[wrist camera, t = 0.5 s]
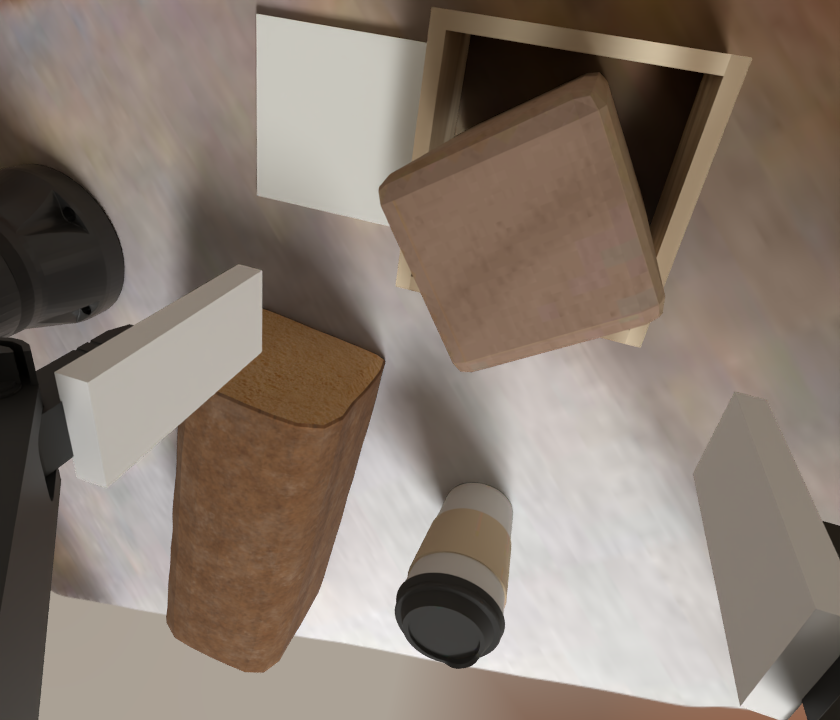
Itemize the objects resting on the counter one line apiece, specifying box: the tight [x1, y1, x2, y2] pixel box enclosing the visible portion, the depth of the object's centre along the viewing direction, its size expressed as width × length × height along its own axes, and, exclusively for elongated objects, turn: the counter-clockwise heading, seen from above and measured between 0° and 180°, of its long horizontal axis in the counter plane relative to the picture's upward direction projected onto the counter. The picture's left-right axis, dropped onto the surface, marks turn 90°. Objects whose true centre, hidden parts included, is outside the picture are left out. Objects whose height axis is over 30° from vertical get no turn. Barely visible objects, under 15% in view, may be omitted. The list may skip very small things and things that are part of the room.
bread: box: [166, 308, 385, 672], centre depth 56 cm, size 14×34×14 cm, turn 164°
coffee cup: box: [395, 483, 513, 669], centre depth 51 cm, size 9×9×15 cm
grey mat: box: [256, 14, 427, 226], centre depth 43 cm, size 13×13×1 cm
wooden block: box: [378, 72, 665, 372], centre depth 32 cm, size 10×10×20 cm
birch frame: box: [396, 7, 752, 347], centre depth 38 cm, size 17×17×7 cm
